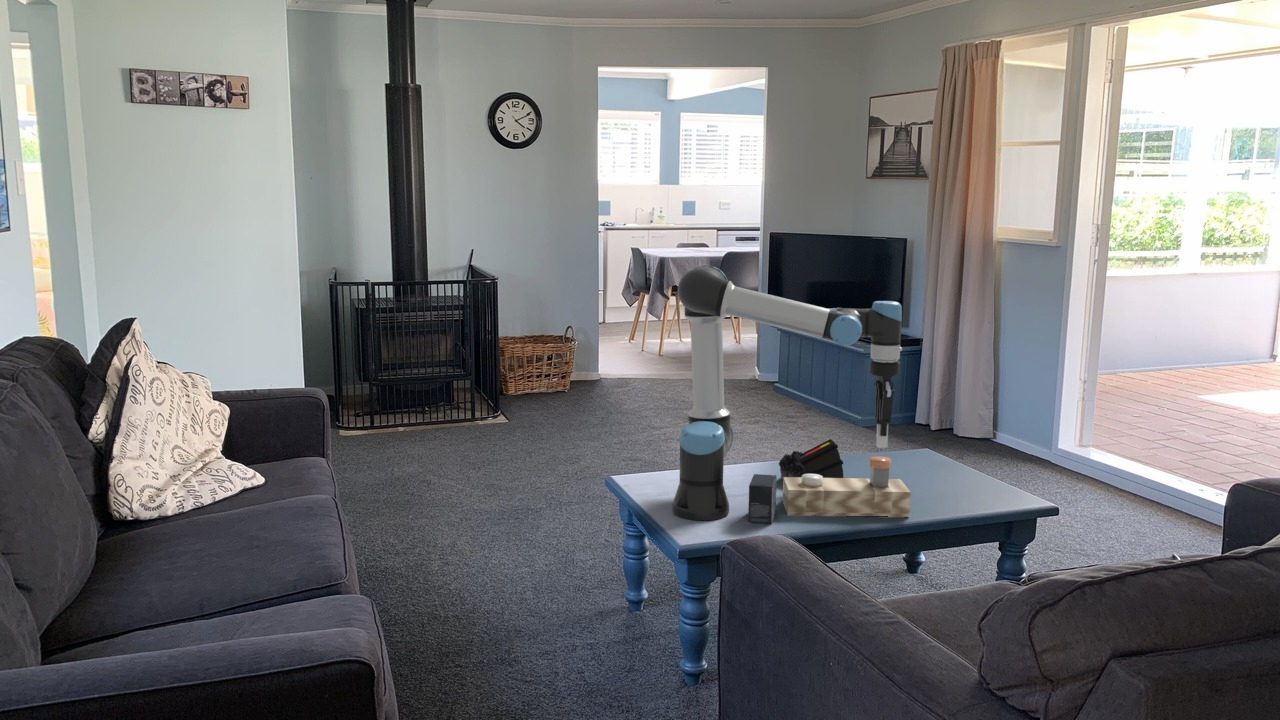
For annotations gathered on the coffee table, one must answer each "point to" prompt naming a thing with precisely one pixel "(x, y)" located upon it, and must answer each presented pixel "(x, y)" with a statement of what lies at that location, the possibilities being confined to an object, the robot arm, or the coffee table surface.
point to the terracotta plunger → (879, 471)
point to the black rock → (791, 465)
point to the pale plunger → (812, 480)
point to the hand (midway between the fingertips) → (881, 446)
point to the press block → (845, 498)
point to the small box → (762, 499)
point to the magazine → (822, 460)
